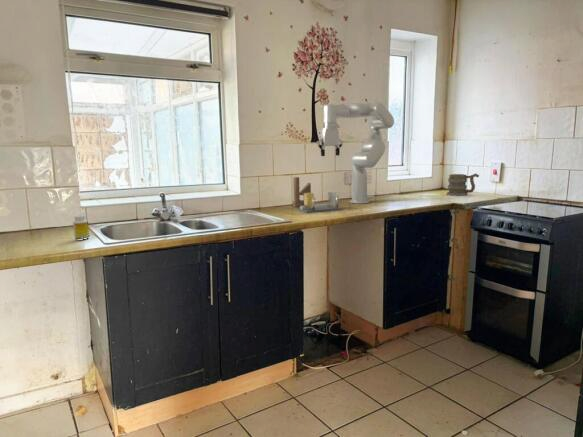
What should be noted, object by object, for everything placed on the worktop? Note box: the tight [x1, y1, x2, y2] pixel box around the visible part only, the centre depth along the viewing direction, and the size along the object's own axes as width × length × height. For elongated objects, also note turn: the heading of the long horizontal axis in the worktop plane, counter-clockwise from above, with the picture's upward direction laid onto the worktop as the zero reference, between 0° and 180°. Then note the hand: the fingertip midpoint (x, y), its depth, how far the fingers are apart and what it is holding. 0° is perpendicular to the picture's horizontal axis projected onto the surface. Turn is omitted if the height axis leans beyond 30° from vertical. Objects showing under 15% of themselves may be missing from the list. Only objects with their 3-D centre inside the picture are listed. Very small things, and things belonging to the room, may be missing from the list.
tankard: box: [446, 173, 480, 197], centre depth 301 cm, size 20×13×15 cm, turn 55°
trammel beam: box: [299, 191, 340, 209], centre depth 250 cm, size 21×9×8 cm, turn 114°
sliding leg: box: [303, 192, 316, 209], centre depth 247 cm, size 4×9×8 cm, turn 24°
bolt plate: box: [296, 205, 342, 214], centre depth 252 cm, size 22×13×1 cm, turn 114°
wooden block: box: [292, 176, 312, 208], centre depth 267 cm, size 4×11×18 cm, turn 113°
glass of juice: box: [72, 214, 90, 240], centre depth 186 cm, size 6×6×10 cm
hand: (330, 155), depth 259 cm, fingers open, 9 cm apart
